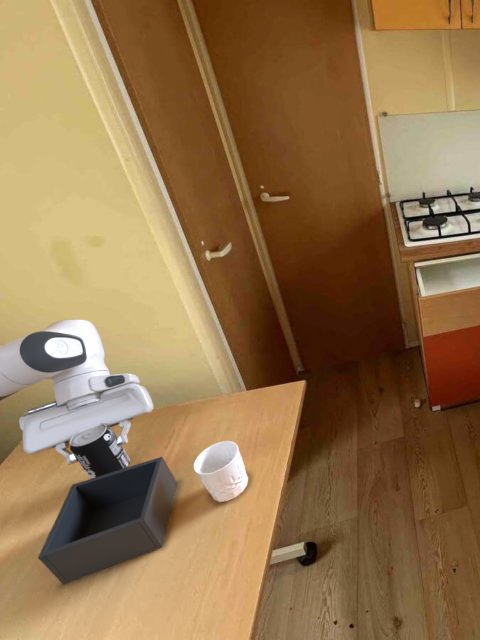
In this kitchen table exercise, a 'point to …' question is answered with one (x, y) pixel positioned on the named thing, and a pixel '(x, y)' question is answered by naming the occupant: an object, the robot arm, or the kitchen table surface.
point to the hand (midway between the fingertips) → (99, 453)
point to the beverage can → (98, 451)
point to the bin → (110, 520)
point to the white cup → (222, 470)
